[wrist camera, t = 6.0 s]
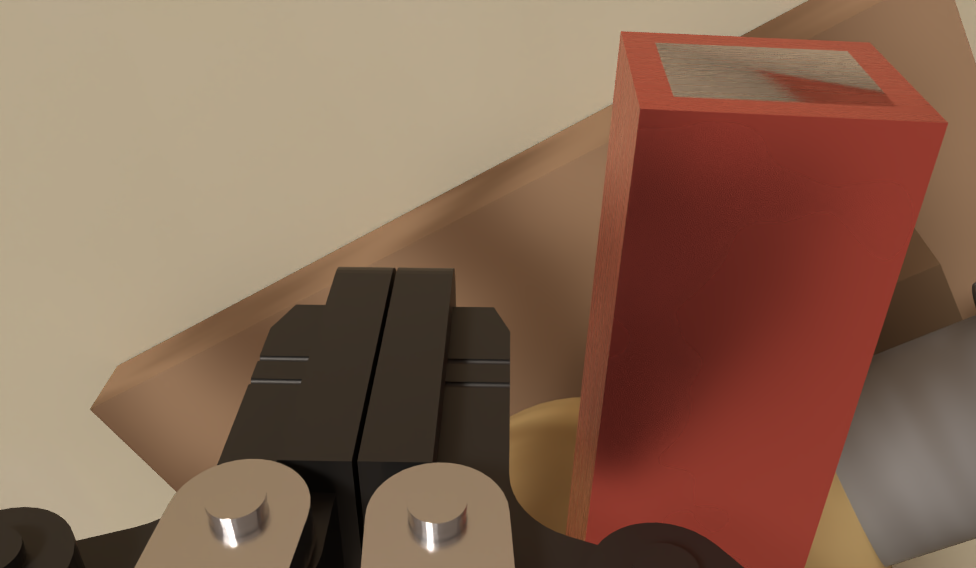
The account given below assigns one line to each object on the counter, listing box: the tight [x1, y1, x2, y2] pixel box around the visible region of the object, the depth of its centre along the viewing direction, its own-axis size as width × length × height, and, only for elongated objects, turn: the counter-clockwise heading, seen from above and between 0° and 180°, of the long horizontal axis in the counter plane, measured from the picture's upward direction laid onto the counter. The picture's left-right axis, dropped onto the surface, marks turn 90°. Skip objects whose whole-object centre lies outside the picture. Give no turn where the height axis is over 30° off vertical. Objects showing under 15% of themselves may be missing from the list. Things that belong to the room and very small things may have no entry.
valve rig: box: [90, 0, 976, 568], centre depth 22 cm, size 24×14×12 cm, turn 121°
